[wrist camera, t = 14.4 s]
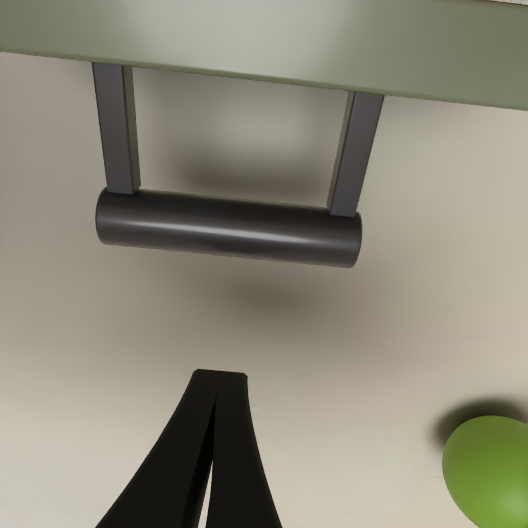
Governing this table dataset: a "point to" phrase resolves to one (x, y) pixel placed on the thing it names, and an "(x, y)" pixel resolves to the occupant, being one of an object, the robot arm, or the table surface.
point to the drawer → (279, 71)
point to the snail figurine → (489, 471)
